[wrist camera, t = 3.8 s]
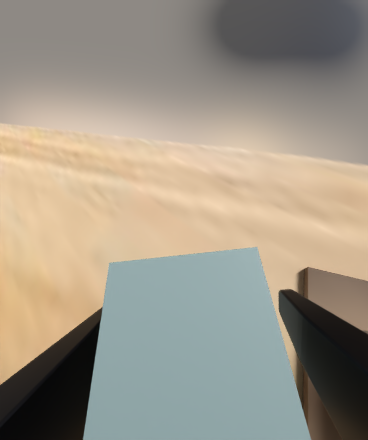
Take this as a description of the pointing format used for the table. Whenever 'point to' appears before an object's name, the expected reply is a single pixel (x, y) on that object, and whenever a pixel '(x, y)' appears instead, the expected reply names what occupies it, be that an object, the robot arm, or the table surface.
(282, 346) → the pale blue box
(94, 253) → the table surface
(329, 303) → the brown framed base board
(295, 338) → the robot arm
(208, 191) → the table surface
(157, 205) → the table surface
